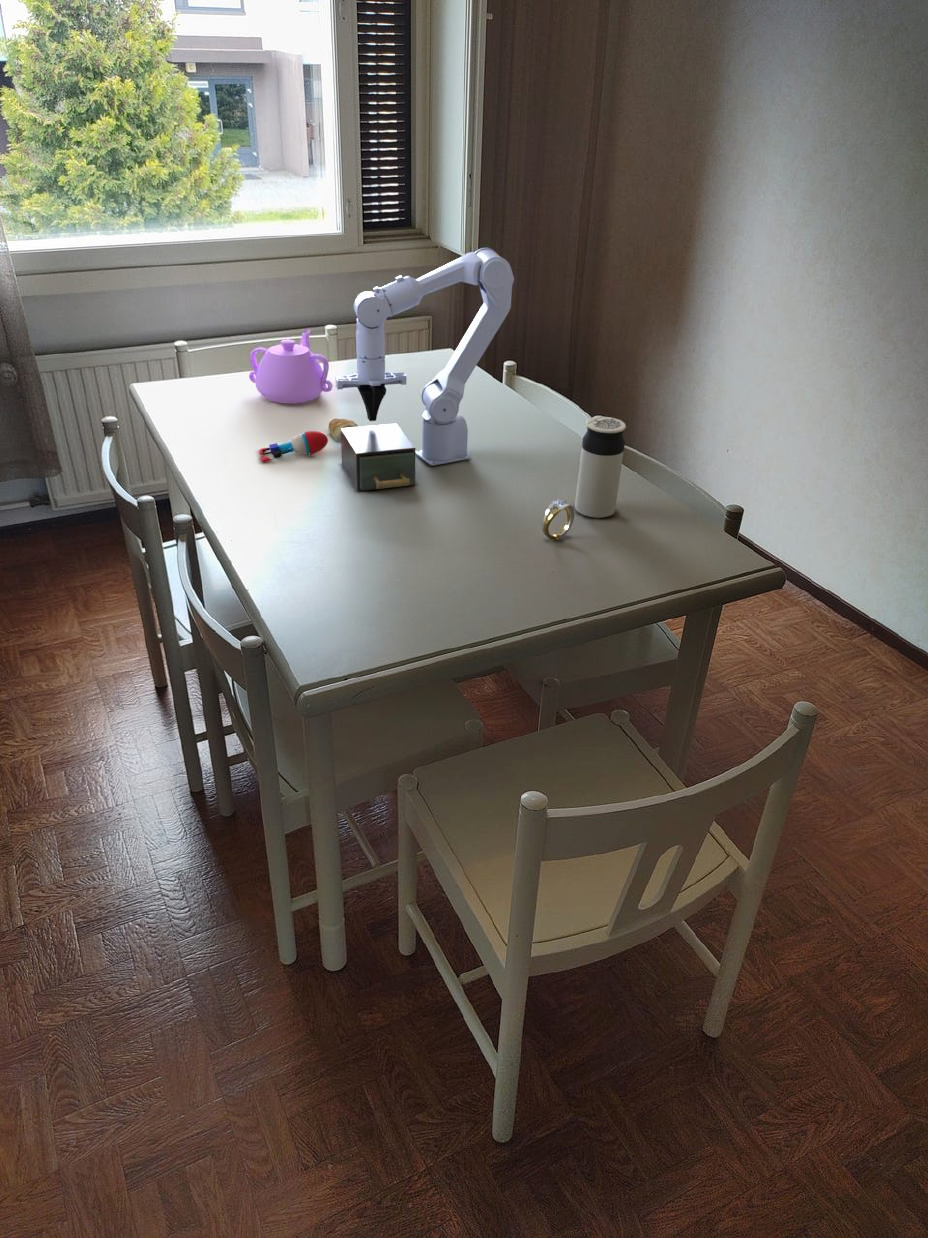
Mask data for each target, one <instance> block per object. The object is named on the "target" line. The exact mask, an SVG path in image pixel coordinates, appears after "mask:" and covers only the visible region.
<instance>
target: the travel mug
mask: <svg viewBox="0 0 928 1238" xmlns="http://www.w3.org/2000/svg"><path fill="white" fill-rule="evenodd" d="M585 426H586V432H585V434H584V435H583V437H582V442H581V451H580V459H579V469H578V476H577V484H576V493H575V501H574V509H575V510H576V511H577V513H579V514H581V515H583V516H586V517H589V518H595V519H601V518H602V519H603V518H607V517H610V516H612V515H614V514H615V512H616V507H617V499H618V493H619V486H620V479H621V473H622V467H623V458H624V452H625V445H626V440H625V438H624V435H623V434H624V431H625V430H626V428H627V425H626V423H625V422H624V421H622V420H621V419H618V418H615V417H609V416H594V417H590V418H588V419H587V420H586V421H585Z"/></svg>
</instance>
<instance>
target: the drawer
mask: <svg viewBox="0 0 928 1238" xmlns="http://www.w3.org/2000/svg"><path fill="white" fill-rule="evenodd" d="M359 471H360V488H361V490H365V489H374V488H377V489H376V490H381V489H380V488H383V489H390V488H389V487H392V488H399V487H398V486H401V487H408V486H407V485H410V486H412V485H411V484H414V453H413V452H409V451H403V452H393V453H388V454H384V455H375V454H373V455H362V456H359ZM374 490H375V489H374ZM365 491H366V490H365Z"/></svg>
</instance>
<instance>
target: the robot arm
mask: <svg viewBox="0 0 928 1238" xmlns="http://www.w3.org/2000/svg"><path fill="white" fill-rule="evenodd" d="M514 281H515V277H514V274H513V270H512V267H511V265H510V263H509V261H508V260H506V259H505V258H503V257H501V256H500V255H499V254H498V253H497V252H496V250H494V249H492V248H490V247H481V248H479V249H477V250H476V251H475V252H474V251H471V252H467V253H465V254H463V255H461V256H459V258H456V259H454V260H452V261H450V262H448V263H446V264H444V265H442V266H439V267H438V268H436V269H433V270H432V271H430V272H428V273H426V274H424V275H422V276H420V277H418V278H414V277H411V276H410V275H406V276H404V277H403V275H398V276H396V277H395V281H393V282H390V283H388V284H386V285H383V286H381V287H380V286H375V287H373V291H369V290H367V291H362V292H361V293H359V294H358V295H357V297H356V298H355V300H354V303H353V305H352V310H353V312H354V315H356V317H357V318H356V325H355V326H356V327H355V328H356V331H355V344H356V346H355V347H356V373H354V374H349V375H343V376H337V377H335V378H334V380H335V387H336V389H337V391H338V390H339V391H340V390H343V389H349V388H357V390H358V392H359V394H360V396H361V399H362V401H363V404H364V408H365V412H366V416H367V420H368V421H369V422H376V421H377V418H378V413H379V410H380V406H381V405H382V401H383V400H384V398H385V396H386V394H387V388H386V386H389V385H402V386H403V385H404V386H405V385H406V386H407V374H406V373H405V372H389V371H387V372H386V333H385V323H386V321H387V319H388V318H391V317H394V316H397V315H398V314H400V313H403V312H405V311H407V310H409V309H411V308H414V307H416V306H419V305H420V304H421V301H422V299H423V297H424V296H426V295H428V294H431V293H434V292H437V291H439V290H443V289H444V288H448V287H450V286H452V285H455V284H459V283H461V282H462V283H465V284H469V285H474V286H479V290H480V294H481V298H482V302H483V304H482V305H481V306H480V308H479V311H478V312H477V313H476V315H475V317H474V319H473V321H472V322H471V324H470V325H469V327H468V329H467V330H466V332H465V333H464V335H463V337H462V339H461V340H460V342H459V344H458V346H457V347H456V349H455V351H454V352H453V354H452V356H451V358H450V359H449V361H448V363H447V364H446V366H445V368H444V369H443V370H441V371H439V372H438V373H437V374H436V375H435V377H434V378H433V379H432V381H430V382H429V383H427V384H425V386H424V387H423V388H422V391H421V396H420V397H421V402H422V404H423V405H424V406H425V409H424V412H423V414H422V429H421V430H422V434H421V435H422V436H421V437H422V438H421V439H422V440H421V449H419V450H418V449H417V450H415V456H417V457H419V458H420V459H421V460H422V461H424V463H426V464H427V465H428V466H430V467H435V466H438V465H439V466H440V465H443V464H449V463H450V464H451V463H455V462H460V461H466V460H468V459H469V456H468V438H469V437H468V436H469V434H468V433H469V431H468V430H469V429H468V424H467V421H466V418H465V417H464V416H463V415H461V414H459V411H460V404H461V402H462V400H463V398H464V394H465V387H466V383H467V382H468V380H469V378H470V376H471V375H472V373H473V371H474V370H475V368H476V367H477V365H478V363H479V362H480V360H481V358H482V357H483V355H484V354H485V352H486V350H487V349H488V348H489V345H490V344H491V342H492V340H493V339H494V337H495V335H496V333H497V332H498V330H499V329H500V328H501V326H502V324H503V322H504V321H505V319H506V317H507V316H508V314H509V312H510V310H511V308H512V294H513V293H512V292H513V285H514Z"/></svg>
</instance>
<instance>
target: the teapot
mask: <svg viewBox="0 0 928 1238" xmlns="http://www.w3.org/2000/svg"><path fill="white" fill-rule="evenodd" d="M310 335H311V328H306V329H305V330H303V332H302V335H301V337H300V343H299V344H298V343H297V344H296V340H294V339H289V338H288V339H287V338H286V339H282V340H281V341H280V344H275V345H273V346H269V348H265V347H256V348H254V349H253V350H251V352H250V355H249V359H250V364H251V367H252V371H250V372H249V374H248V379H249V381H251V382H252V383H253V384H255V388H256V390H257V391H258V393H260V395H261V396H262V397H263V398H264V399H266V400H267V401H270V402H274V403H278V404H302V403H307V402H311V401H313V400H315V399H317V398H318V397H319V396H320V395H321V394H322V393H323V392H325V393H328V392H330V391H332V389H333V383H332V382H331V380H329V379H327V378H328V374H329V369H330V368H329V367H330V365H329V364H330V363H329V360H328V358H327V357H325V356H324V355H323V354H320V353H313V352H312V351H311V347H310V346H311V345H310ZM257 353H261V354H263V356H262V358H261V360H260V362H259V364H258V362H257ZM319 361H320V362H321V364H322V366H321V364H320V362H319Z"/></svg>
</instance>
